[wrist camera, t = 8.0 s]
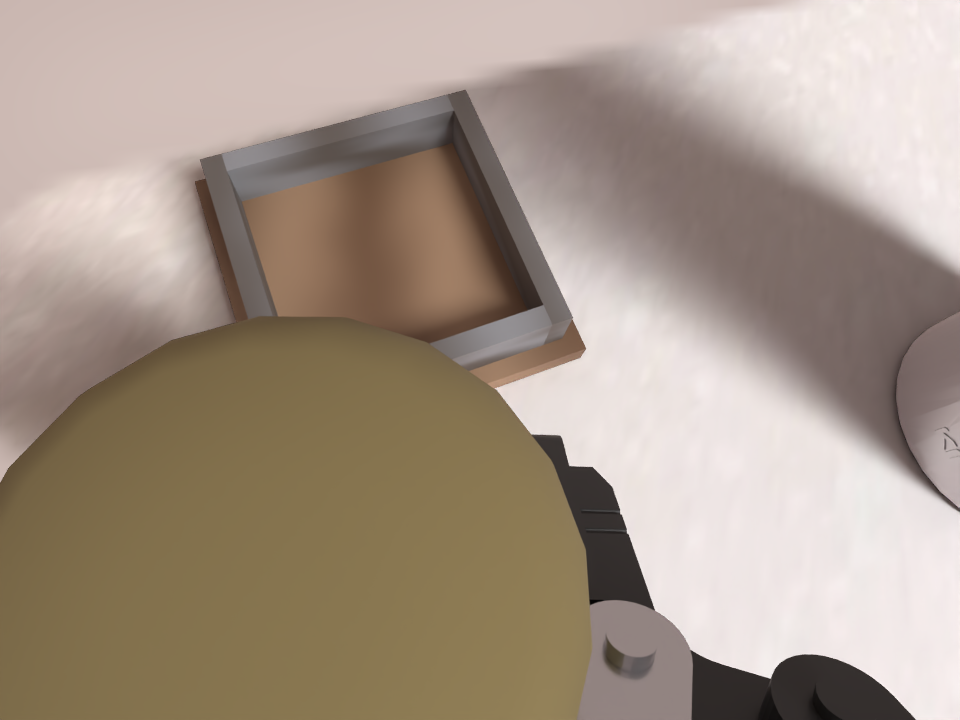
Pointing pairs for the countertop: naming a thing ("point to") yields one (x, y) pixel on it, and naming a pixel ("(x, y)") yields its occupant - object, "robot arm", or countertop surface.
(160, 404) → the cork
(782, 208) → the countertop surface
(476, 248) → the plate
